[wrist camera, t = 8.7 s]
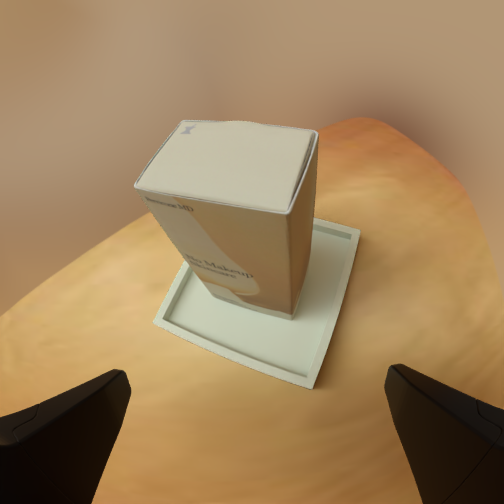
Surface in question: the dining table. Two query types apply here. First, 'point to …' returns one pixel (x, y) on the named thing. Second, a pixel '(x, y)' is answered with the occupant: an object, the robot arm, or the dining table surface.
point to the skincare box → (238, 208)
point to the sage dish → (265, 326)
